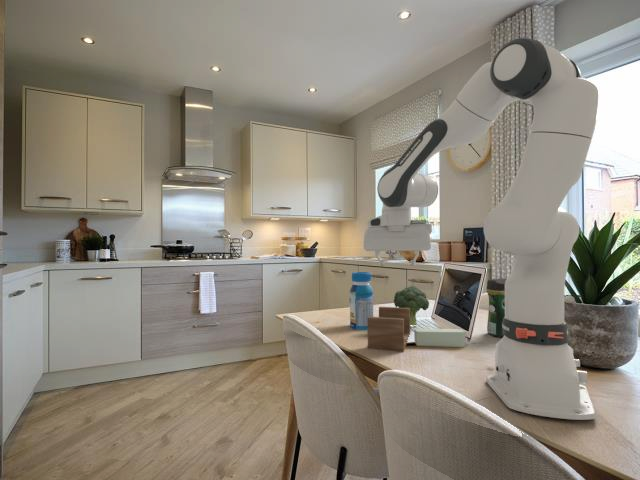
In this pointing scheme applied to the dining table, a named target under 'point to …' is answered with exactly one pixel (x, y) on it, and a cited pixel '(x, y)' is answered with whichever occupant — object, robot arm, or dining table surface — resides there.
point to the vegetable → (411, 301)
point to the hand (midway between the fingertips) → (397, 266)
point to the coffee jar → (496, 306)
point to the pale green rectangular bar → (440, 337)
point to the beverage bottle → (361, 300)
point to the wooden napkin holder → (389, 329)
